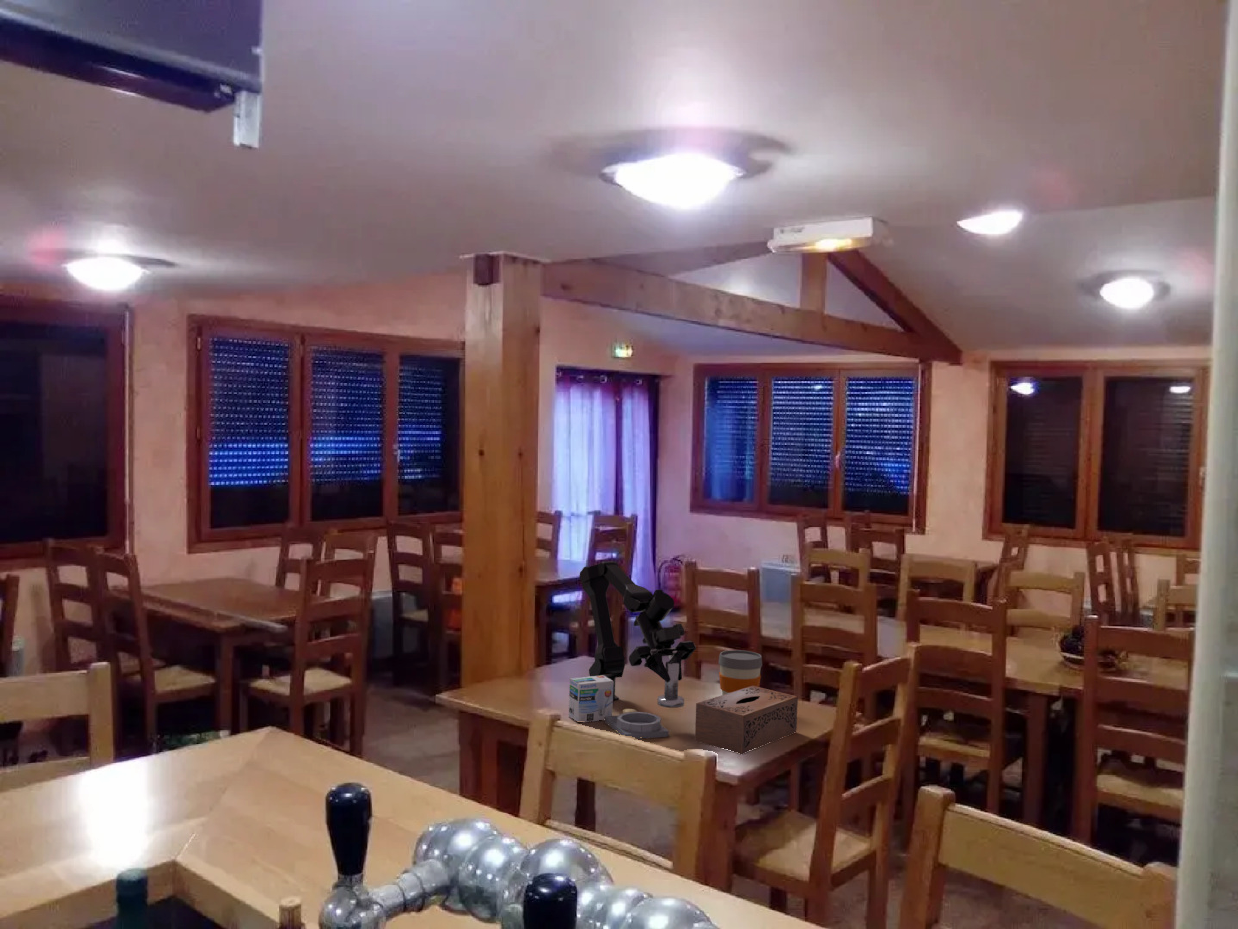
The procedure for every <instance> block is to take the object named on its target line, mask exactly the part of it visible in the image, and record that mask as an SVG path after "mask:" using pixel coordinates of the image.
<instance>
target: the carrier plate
mask: <svg viewBox="0 0 1238 929" xmlns="http://www.w3.org/2000/svg"><path fill="white" fill-rule="evenodd" d="M603 721H605V722H606V723H607V724H609V725H610V726H611V727H612V728H611V727H610V726H609V725H608V726H609V727H610V728H611V729H612V730H613V729H614V730H617V731H618V733H620V734H621V735H625V736H632V737H635V738H638V739H637V740H643V739H642V738H646V739H657V738H667V737H669V736H670V735H669V733H670V731H669V730H668V729H667V728H666V727H664V726H663V725H662V718H661V717H660V716H659V715H657V714H653V713H649V712H644V711H637V710H636V709H634V708H624V709H623V710H622V713H621V714H618V715H612V716H605V720H603ZM605 722H604V723H605ZM606 723H605V724H606ZM607 724H606V725H607ZM614 730H613V731H614ZM618 733H617V734H618ZM640 737H642V738H640Z"/></svg>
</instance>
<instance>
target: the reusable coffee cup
mask: <svg viewBox="0 0 1238 929" xmlns="http://www.w3.org/2000/svg"><path fill="white" fill-rule="evenodd" d="M762 657H763V656H762V654H760V653H757V652H755V651H751V650H744V649H743V650H740V649H730V650H724V651H721V652H720V653H719V656H718V665H719V672H718V675H719V676H718V677H719V688H720V689H721V694H722V695H724V694H728V693H731V692H734V691H737V690H740V689H744V688H747V687H750V686H756V687H760V682H761V677H762V676H761V668H762V667H763V659H762Z"/></svg>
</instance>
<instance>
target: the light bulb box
mask: <svg viewBox="0 0 1238 929" xmlns="http://www.w3.org/2000/svg"><path fill="white" fill-rule="evenodd" d="M613 685H614V681H613V680H611V679H609V678H607V677H606V676H604V675H600V676H590V675H589V676H583V677H571V678H569V695H568V696H569V697H568V698H569V700H568V717H569V718H571V719H572V718H573V719H574V720H573V719H572V720H573V721H575V720H576V721H585V722H584V723H590V722H591V721H592V722H600V721H599V720H602V721H604V719H605V716H613V705H614V700H613ZM576 721H575V722H576ZM589 721H590V722H589ZM592 722H591V723H592Z"/></svg>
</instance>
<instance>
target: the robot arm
mask: <svg viewBox="0 0 1238 929" xmlns="http://www.w3.org/2000/svg"><path fill="white" fill-rule="evenodd" d="M579 581H580V583H581V586H582V587H581V588H582V590H583V591H584V592H585V593H586V595H587V596H588V597H589V600H590V606H591V607H590V608H591V612H592V613H591V614H592V617H593V624H594V629H595V635H596V641H597V647H596V650H595V653H594V661H593V663H592V665H591V666H590V668H589V669H588V673H589V677H590V676H600V675H604V676H606V677H607V678H609V679H611V680H613V681H614V685H613V701H619V700H620V697H618V696H617V695H616V678H623V674H624V670H625V666H626V661H625V660H626V658H625V655H624V649H623V646H621V645H618V643H616V641H615V638H614V632H613V630H614V629H613V626H612V619H611V614H610V608H609V603H608V602H609V601H608V597H607V592H608V589H609V587H610V584H611V585H612V587H614V589H615V590H616V591H617V592H618V593H619V594H620V595H621V596H622V599H623V600H622V603H623V605H624V606H625V608H626V609H627V611H628V612H630V613H639V614H638V615H636V616H635V619H634V622H633V626H634V627H639V629H640V631H641V634H642V636H643V639H642V643H643V645H639V646H636V647H635V648H634V649H633V650H632V652H631V653H630V654H629V656H628V661H629V664H630V666H632V667H637V666H641V665H642V663H643V660H642V659H644V661H645V663H644V664H643V666H644V668H647V669H649V670H651V671H652V672H654V673H655V674H656V675H657V676H659V677H660V678H661V679H662V680H664V682H665V681H666V682H669V681H670V679H669V676H668V673H667V671H666V669H665V663H664V661H663V657H666V656H667V657H668V659H669V661H674V662H678V663H679V679H678V682H679V681H682V680H683V673H682V661H684V660H688V659H689V658H690V657H691V656H692V654H693V653H694V652H695V651H696V649H697V647H696V644H695V642H694V641H692V640H687V641H685V640H684V641H679V643H678V644H677V646H675V647H672V646H673V645H674V644H676V642H675V640H680V639H682V637H683V636H685V633H686V632H685V628H684V626H683V625H682V623H676V624H674V625H672V626H668V627H663V624H662V623H661V622H662V621H663V620H665V619H666V617H667V616H668V615H669V613H670V612H671V611H672V610H673V608H674V607H675V601H674V598H672V597H671V595H669V594H668V593H666V592H664V591H663V589H662V588H661V589H655V590H654V592H652V591H650V590H649V589H648V588H646V587H644V586H641V585H637V584H636V583H635V582H634V580H632V579H631V578H630V577H629V576H628V575H627V573H625V572H624V571H623V570H622V569H621V568H620V567H619V563H618V562H616V561H614V560H613V561H611V560H609V561H601V562H599V563H598V564H595V565H591V566H584V567H583V568H582V569H581V571H580V572H579ZM644 644H646V645H644Z"/></svg>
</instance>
